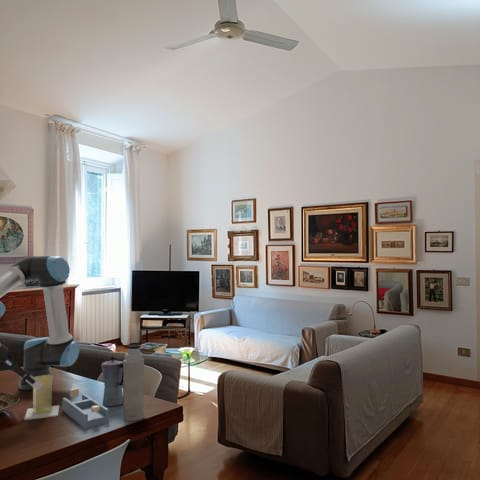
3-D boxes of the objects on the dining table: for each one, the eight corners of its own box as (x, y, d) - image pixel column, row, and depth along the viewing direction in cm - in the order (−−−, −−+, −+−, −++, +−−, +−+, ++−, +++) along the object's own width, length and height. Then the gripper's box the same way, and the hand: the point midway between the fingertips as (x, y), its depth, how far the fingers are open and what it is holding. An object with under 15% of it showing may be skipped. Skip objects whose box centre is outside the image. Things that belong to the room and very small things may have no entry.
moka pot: (111, 397, 193) (112, 352, 194) (134, 404, 184) (135, 357, 185) (93, 403, 186) (94, 356, 186) (116, 410, 177) (117, 361, 178)
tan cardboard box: (32, 412, 174) (33, 377, 175) (48, 408, 178) (49, 374, 179) (35, 414, 171) (36, 379, 172) (51, 411, 175) (52, 376, 175)
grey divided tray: (62, 410, 177) (62, 390, 178) (84, 405, 183) (84, 386, 183) (84, 428, 158) (85, 406, 158) (108, 422, 164) (108, 401, 164)
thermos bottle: (120, 421, 165) (120, 347, 167) (126, 413, 173) (126, 343, 175) (140, 421, 165) (141, 347, 166) (146, 413, 173) (146, 343, 174)
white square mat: (27, 410, 178) (27, 408, 178) (59, 406, 182) (59, 405, 182) (24, 420, 167) (24, 418, 167) (57, 416, 171) (57, 414, 171)
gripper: (-22, 353, 171) (19, 384, 180) (-8, 365, 152) (36, 399, 161) (-6, 338, 175) (33, 369, 184) (9, 347, 156) (51, 382, 165)
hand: (34, 383), depth 173 cm, fingers open, 13 cm apart
